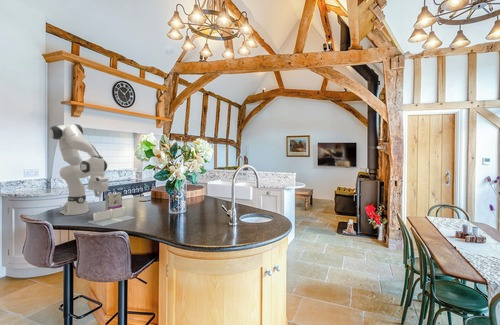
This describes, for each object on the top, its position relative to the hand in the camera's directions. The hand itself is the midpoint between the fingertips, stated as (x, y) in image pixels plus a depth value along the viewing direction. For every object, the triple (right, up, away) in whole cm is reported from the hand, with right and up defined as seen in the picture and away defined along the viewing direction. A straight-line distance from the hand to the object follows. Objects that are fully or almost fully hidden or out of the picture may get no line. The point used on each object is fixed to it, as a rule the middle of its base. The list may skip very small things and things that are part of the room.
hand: (97, 196), depth 188 cm
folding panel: (+5, -16, -3) cm, 17 cm away
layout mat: (+11, -17, 0) cm, 20 cm away
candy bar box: (+1, -17, +19) cm, 26 cm away
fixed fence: (+11, -16, +7) cm, 21 cm away
